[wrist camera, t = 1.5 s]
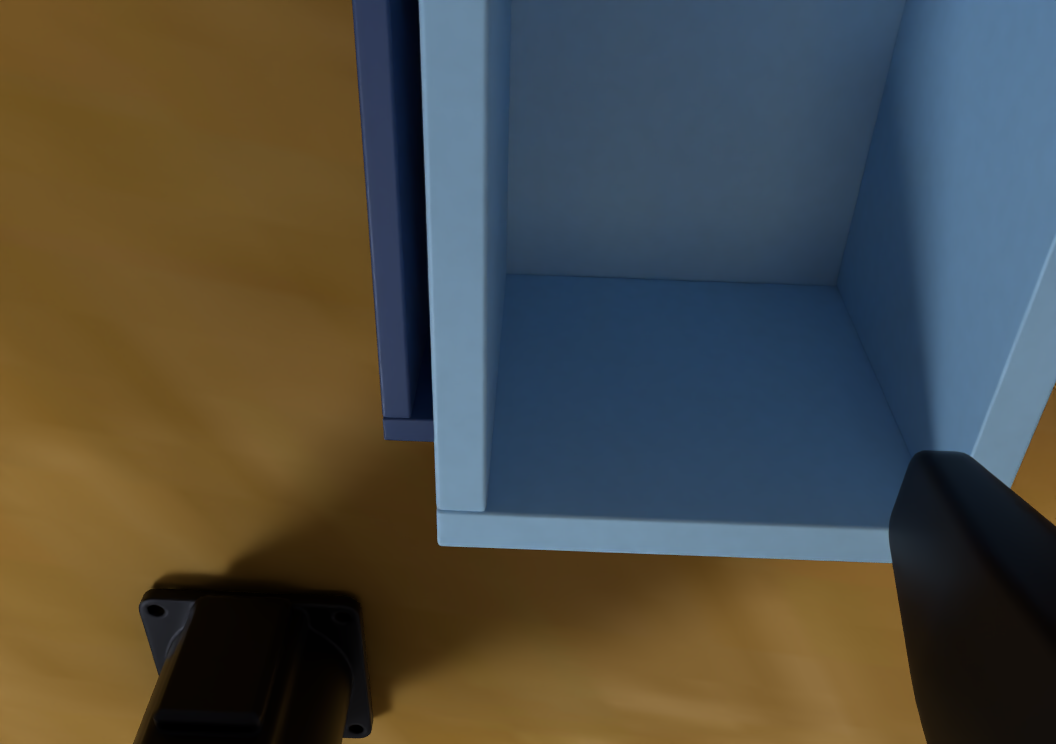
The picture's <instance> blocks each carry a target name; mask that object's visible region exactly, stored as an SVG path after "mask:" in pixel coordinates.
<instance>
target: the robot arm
mask: <svg viewBox="0 0 1056 744" xmlns="http://www.w3.org/2000/svg"><path fill="white" fill-rule="evenodd" d="M889 546H890V552H891V558H892V564H893V570H894V576H895V582H896V588H897V595H898V601H899V607H900V613H901V619H902V625H903V631H904V637H905V643H906V650H907V656H908V662H909V668H910V674H911V679H912V685H913V690H914V695H915V700H916V704H917V708H918V712H919V716H920V720H921V724H922V728H923V731H924V734H925V738H926V741H927V744H1056V526H1055V525H1053V524H1052V523H1051V522H1050V521H1049V520H1047V519H1046V518H1045V517H1044V516H1043V515H1041V514H1040V513H1039V512H1038V511H1037V510H1035V509H1034V508H1033V507H1032V506H1030V505H1029V504H1028V503H1027V502H1026V501H1024V500H1023V499H1022V498H1021V497H1020V496H1018V495H1017V494H1016V493H1015V492H1014V491H1012V490H1011V489H1010V488H1009V487H1008V486H1006V485H1005V484H1004V483H1003V482H1002V481H1000V480H999V479H998V478H997V477H996V476H994V475H993V474H992V473H991V472H989V471H988V470H987V469H986V468H985V467H983V466H982V465H981V464H980V463H979V462H977V461H976V460H975V459H974V458H972V457H971V456H969V455H968V454H966V453H963V452H958V451H935V450H923V451H920V452H917V453H916V454H915V455H914V456H913V457H912V459H911V460H910V463H909V465H908V468H907V470H906V473H905V476H904V479H903V482H902V485H901V487H900V490H899V493H898V496H897V499H896V502H895V504H894V507H893V510H892V513H891V516H890V521H889ZM139 612H140V615H141V618H142V622H143V625H144V628H145V632H146V635H147V638H148V641H149V645H150V648H151V651H152V655H153V658H154V661H155V665H156V668H157V671H158V675H159V678H158V680H157V683H156V686H155V688H154V691H153V693H152V696H151V698H150V701H149V704H148V706H147V709H146V711H145V714H144V716H143V719H142V722H141V724H140V727H139V729H138V732H137V735H136V737H135V740H134V742H133V744H341V743H342V738H364V737H367V736H368V735H369V734H370V733H371V730H372V724H373V712H372V702H371V692H370V683H369V673H368V664H367V654H366V645H365V635H364V625H363V616H362V607H361V605H360V603H359V602H358V601H357V600H355V599H353V598H351V597H347V596H333V595H307V594H280V593H254V592H228V591H202V590H176V589H151V590H149V591H147V592H146V593H145V594H144V595H143V598H142V600H141V602H140V605H139ZM343 612H344V613H343Z"/></svg>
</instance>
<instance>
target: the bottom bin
mask: <svg viewBox="0 0 1056 744" xmlns="http://www.w3.org/2000/svg"><path fill="white" fill-rule="evenodd" d="M352 6H353V19H354V33H355V47H356V60H357V74H358V88H359V101H360V115H361V128H362V142H363V156H364V169H365V183H366V197H367V210H368V224H369V237H370V251H371V265H372V278H373V292H374V305H375V319H376V333H377V346H378V360H379V374H380V387H381V401H382V414H383V430H384V438H385V440H399V441H425V442H434V423H433V394H432V366H431V337H430V309H429V280H428V252H427V223H426V195H425V166H424V138H423V109H422V81H421V52H420V24H419V0H352Z"/></svg>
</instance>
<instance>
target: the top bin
mask: <svg viewBox="0 0 1056 744" xmlns="http://www.w3.org/2000/svg"><path fill="white" fill-rule="evenodd" d="M419 24H420V52H421V81H422V109H423V138H424V166H425V195H426V223H427V252H428V280H429V309H430V337H431V366H432V394H433V423H434V452H435V480H436V505H437V540H438V544H439V545H440V546H456V547H482V548H508V549H535V550H561V551H587V552H614V553H640V554H666V555H692V556H719V557H745V558H771V559H798V560H824V561H850V562H876V563H892V558H891V552H890V546H889V521H890V516H891V513H892V510H893V507H894V504H895V502H896V499H897V496H898V493H899V490H900V487H901V485H902V482H903V479H904V476H905V473H906V470H907V468H908V465H909V463H910V460H911V459H912V457H913V456H914V455H915V454H916V453H917V452H920V451H923V450H935V451H958V452H963V453H966V454H968V455H969V456H971V457H972V458H974V459H975V460H976V461H977V462H979V463H980V464H981V465H982V466H983V467H985V468H986V469H987V470H988V471H989V472H991V473H992V474H993V475H994V476H996V477H997V478H998V479H999V480H1000V481H1002V482H1003V483H1004V484H1005V485H1006V486H1008V487H1009V488H1011V486H1012V483H1013V481H1014V479H1015V476H1016V474H1017V472H1018V469H1019V467H1020V465H1021V462H1022V460H1023V457H1024V455H1025V453H1026V450H1027V448H1028V446H1029V443H1030V441H1031V439H1032V436H1033V434H1034V432H1035V429H1036V427H1037V425H1038V422H1039V420H1040V417H1041V415H1042V413H1043V410H1044V408H1045V406H1046V403H1047V401H1048V399H1049V396H1050V394H1051V392H1052V389H1053V387H1054V385H1055V382H1056V0H419Z"/></svg>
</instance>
